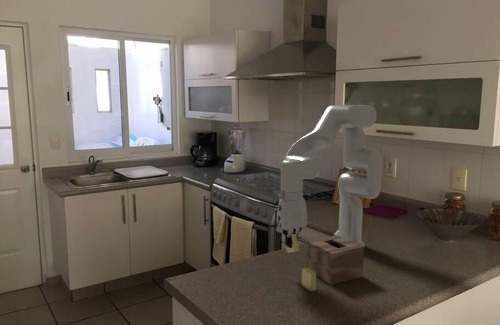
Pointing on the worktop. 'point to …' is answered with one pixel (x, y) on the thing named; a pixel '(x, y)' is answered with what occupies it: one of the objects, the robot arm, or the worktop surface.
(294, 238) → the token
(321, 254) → the box
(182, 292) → the worktop surface
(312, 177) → the robot arm
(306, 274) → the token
